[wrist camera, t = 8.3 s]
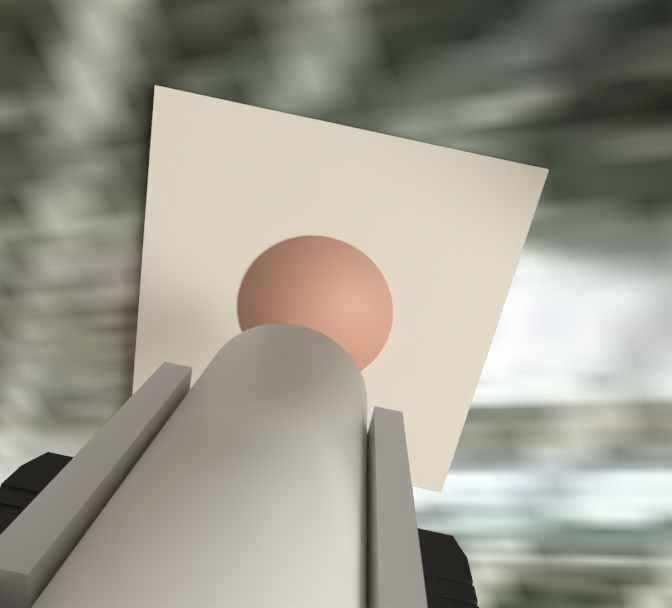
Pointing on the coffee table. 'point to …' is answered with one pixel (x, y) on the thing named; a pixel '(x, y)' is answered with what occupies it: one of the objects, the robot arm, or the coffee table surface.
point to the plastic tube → (240, 490)
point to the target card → (331, 253)
